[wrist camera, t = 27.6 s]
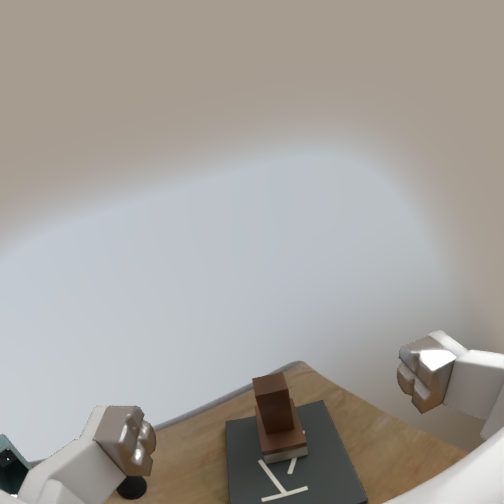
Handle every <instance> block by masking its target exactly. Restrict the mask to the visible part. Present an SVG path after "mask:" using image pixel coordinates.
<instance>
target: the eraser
mask: <svg viewBox="0 0 504 504" xmlns="http://www.w3.org/2000/svg"><path fill="white" fill-rule="evenodd" d="M252 380H253V386H254V392H255V397H256V401H257V405H258V406H255V412H256V418H257V424H258V431H259V437H260V443H261V449H262V453H263V456H264V459H265V462H266V464H269V463H274V462H279V461H284V460H288V459H293V458H297V457H301V456H305V455H308V450H307V442H306V439H305V436H304V433H303V430H302V427H301V424H300V421H299V417H298V414H297V411H296V408H295V405H294V402H293V399H292V398H291V399H290V397H289V391H288V387H287V384H286V381H285V378H284V375H283V372H280V373H276V374H271V375H267V376H262V377H258V378H253V379H252Z"/></svg>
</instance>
